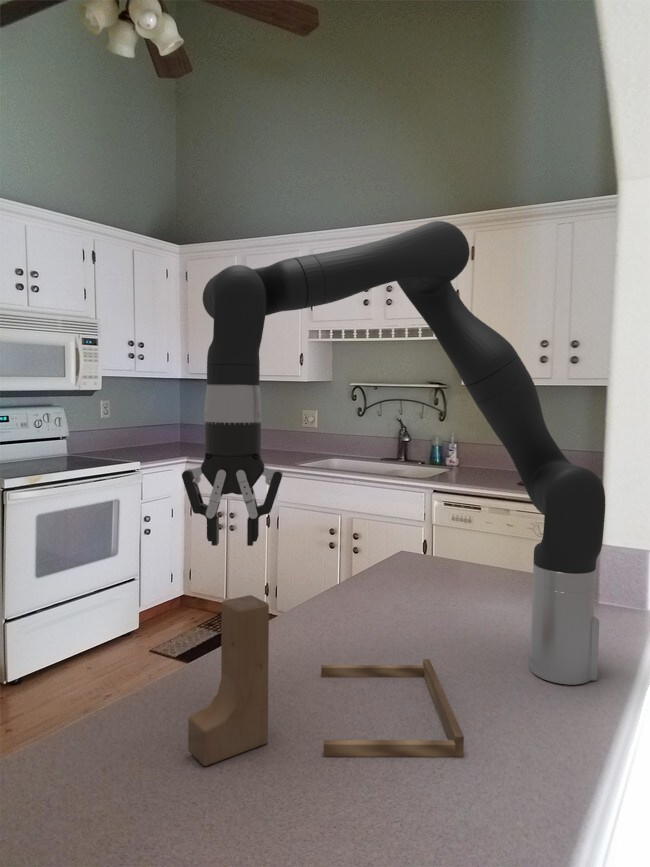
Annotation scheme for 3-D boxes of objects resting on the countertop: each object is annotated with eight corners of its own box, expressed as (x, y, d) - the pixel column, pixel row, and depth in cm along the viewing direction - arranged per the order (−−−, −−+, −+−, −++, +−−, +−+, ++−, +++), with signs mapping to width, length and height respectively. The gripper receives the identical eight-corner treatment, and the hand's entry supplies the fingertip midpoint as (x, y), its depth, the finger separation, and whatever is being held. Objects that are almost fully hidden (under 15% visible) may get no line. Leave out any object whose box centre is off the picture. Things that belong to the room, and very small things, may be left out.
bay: (429, 674, 102) (429, 659, 101) (463, 756, 79) (463, 736, 78) (321, 674, 101) (321, 658, 101) (323, 756, 78) (323, 736, 78)
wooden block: (203, 768, 75) (204, 617, 74) (187, 751, 79) (187, 606, 78) (269, 743, 81) (270, 603, 80) (250, 728, 84) (251, 593, 83)
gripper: (287, 418, 91) (286, 538, 92) (185, 417, 91) (185, 538, 92) (285, 420, 83) (283, 551, 84) (174, 419, 83) (174, 550, 84)
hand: (232, 543), depth 88 cm, fingers open, 4 cm apart
